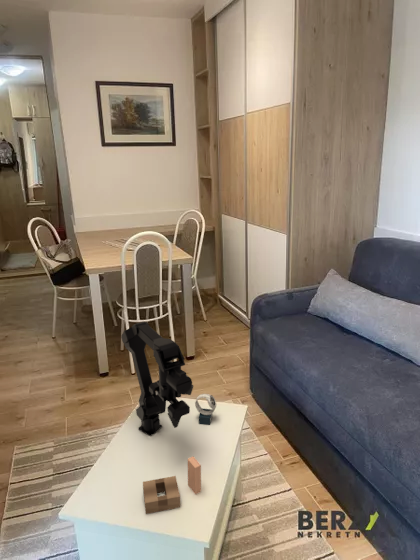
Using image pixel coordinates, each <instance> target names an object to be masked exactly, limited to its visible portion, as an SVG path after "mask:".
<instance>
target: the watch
mask: <svg viewBox="0 0 420 560" xmlns="http://www.w3.org/2000/svg"><path fill="white" fill-rule="evenodd" d="M201 398H202V399H205V400H206V401H207V404H208V406H209V408H202V407H201V405H200V404H199V401H198V400H199V399H201ZM194 405H195V406H194V407H195V408H196V411H197V412H198V413H199V414H198V425H203V426H205V425H206V426H210V425H211V423H212V419H213V414H214V412H215V410H216V408H217V401H216V399H215V397H214V396H213V395H212V394H209V393H201V394H199V395H198V396H197V397H196V399H195V402H194Z"/></svg>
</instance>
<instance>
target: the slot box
mask: <svg viewBox="0 0 420 560" xmlns="http://www.w3.org/2000/svg"><path fill="white" fill-rule="evenodd" d="M142 492H143V500H144V502H143V503H144V509H145V515H148V514H153V513H158V512H162V511H163V512H164V511H167V510H174V509H178V508H181V495H180V490H179V486H178V481H177V477H176V475H173V476H168V477H162V478H161V477H160V478H157V479H151V480H146V481H142ZM163 493H164V495H158V494H163Z"/></svg>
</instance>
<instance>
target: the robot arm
mask: <svg viewBox="0 0 420 560" xmlns="http://www.w3.org/2000/svg"><path fill="white" fill-rule="evenodd" d="M120 337H121V341H122V344H123V345H124V347H125V350H127V351H128V352H129V353H130V354H131V357H132V360H133V361H132V362H133V365H134V369H135V373H136V377H137V380H138V384H139V388H140V395H139V399H138V404H139V406H138V407H137V408H136V409H135V412H136V413H135V414H136V416H137V417H138V418H139V420H140V424H141V425H140V426H139V427H138V430H139V431H140V432H143V433H145V434H146V435H148V436H153V435H155V434H156V433H157V432H159V430H160V429H162V428H163V425H162V424H161V421H160V415H162V414H164V413H166V409H167V415H168V417H169V420H170V422H171V424H172V426H173V427H172V428H174V429H176V428H178V427H179V423H180V421H181V418H182V417H183V416H185V415H188V414H190V413H191V410H190V407H191V406H190V405H189V404H188V403H186V401H185V400H182V399H181V400H178V399H177V398H179V399H180V398H181V397H182V395H186V396H187V395H188V396H191V395H192V392H193V389H194V384H193V380H192V379H191V377H190V376H188V375H187V372H186V371H184V370H182V367H184V366H185V365H186V362H185V357H184V354H183V352H182V350H181V349H180V346H179V345H178V343H176V341H173V340H172V339H171V338H164V337H162V335H160V334H159V333H158V332H157V331H156V330H154V329H153V328H152V327H151V326H150V324H149V322H148V321H142V322H138V323H134V324H133V325H132V326H131V327H129V328H128V329H125V330H123V332H122V333H121V336H120ZM146 345H148V347H149V348H151V349H152V351H153V357H154V360H155V362H156V364H157V365H158V380H157V381H154V382H153V378H152V375H151V371H150V368H149V364H148V359H147V355H146V350H145V349H146ZM174 360H175V361H174ZM167 402H169V405H168V406H167Z"/></svg>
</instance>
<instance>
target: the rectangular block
mask: <svg viewBox="0 0 420 560" xmlns="http://www.w3.org/2000/svg"><path fill="white" fill-rule="evenodd" d="M187 485H188V487H189V488H190V490H191V491H192V492H193V493H194V495H197V494H199V493H201V492H202V464H200V462H199V461H198V460H197V459H196V457H194V456H190V457H188V458H187Z"/></svg>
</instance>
